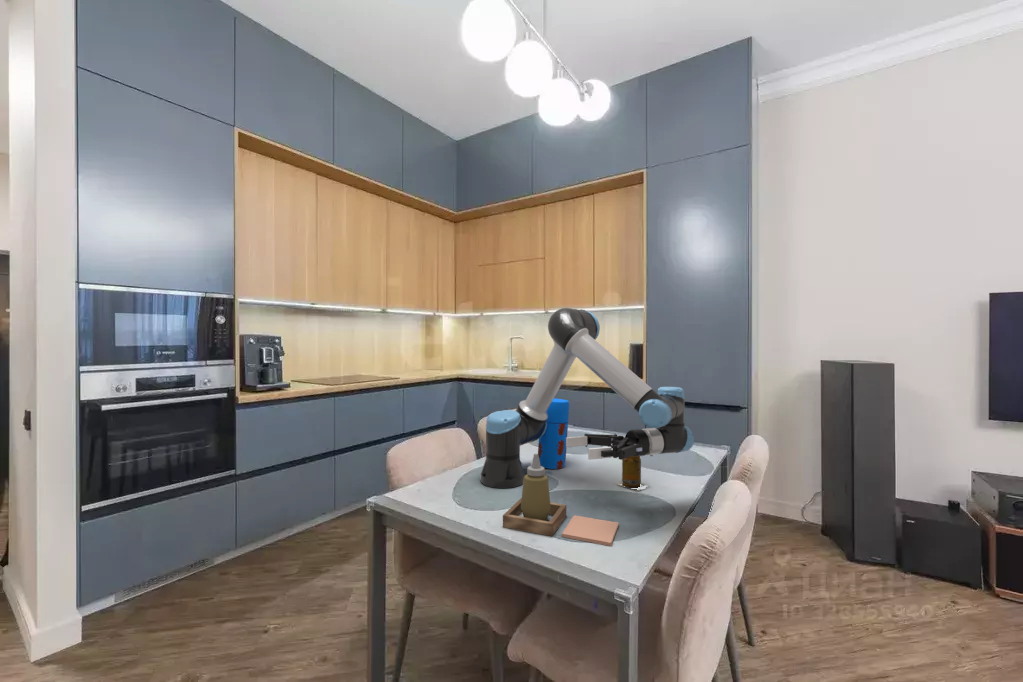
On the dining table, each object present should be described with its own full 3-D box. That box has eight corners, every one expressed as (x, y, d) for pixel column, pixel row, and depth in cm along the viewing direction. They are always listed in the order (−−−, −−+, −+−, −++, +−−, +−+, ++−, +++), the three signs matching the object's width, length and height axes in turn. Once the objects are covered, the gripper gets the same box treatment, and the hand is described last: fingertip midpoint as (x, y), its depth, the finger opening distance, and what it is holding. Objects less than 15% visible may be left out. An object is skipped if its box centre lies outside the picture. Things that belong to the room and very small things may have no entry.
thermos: (532, 461, 168) (536, 398, 168) (556, 460, 172) (560, 398, 172) (545, 469, 158) (549, 402, 158) (570, 468, 162) (574, 402, 162)
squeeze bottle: (534, 512, 120) (535, 448, 120) (556, 521, 115) (557, 454, 114) (514, 520, 115) (514, 454, 115) (536, 530, 109) (537, 460, 109)
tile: (561, 536, 106) (561, 533, 106) (573, 518, 117) (573, 515, 117) (611, 546, 101) (611, 542, 101) (618, 525, 112) (618, 522, 112)
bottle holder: (502, 526, 111) (502, 515, 111) (521, 508, 123) (521, 497, 123) (552, 536, 106) (552, 524, 106) (566, 515, 118) (566, 504, 118)
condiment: (629, 480, 148) (629, 446, 148) (650, 487, 142) (651, 451, 142) (616, 485, 144) (616, 449, 144) (637, 492, 137) (638, 455, 137)
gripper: (671, 467, 112) (599, 474, 106) (619, 445, 136) (558, 450, 130) (671, 438, 112) (599, 444, 106) (619, 421, 136) (558, 425, 130)
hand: (577, 447), depth 118 cm, fingers open, 13 cm apart
